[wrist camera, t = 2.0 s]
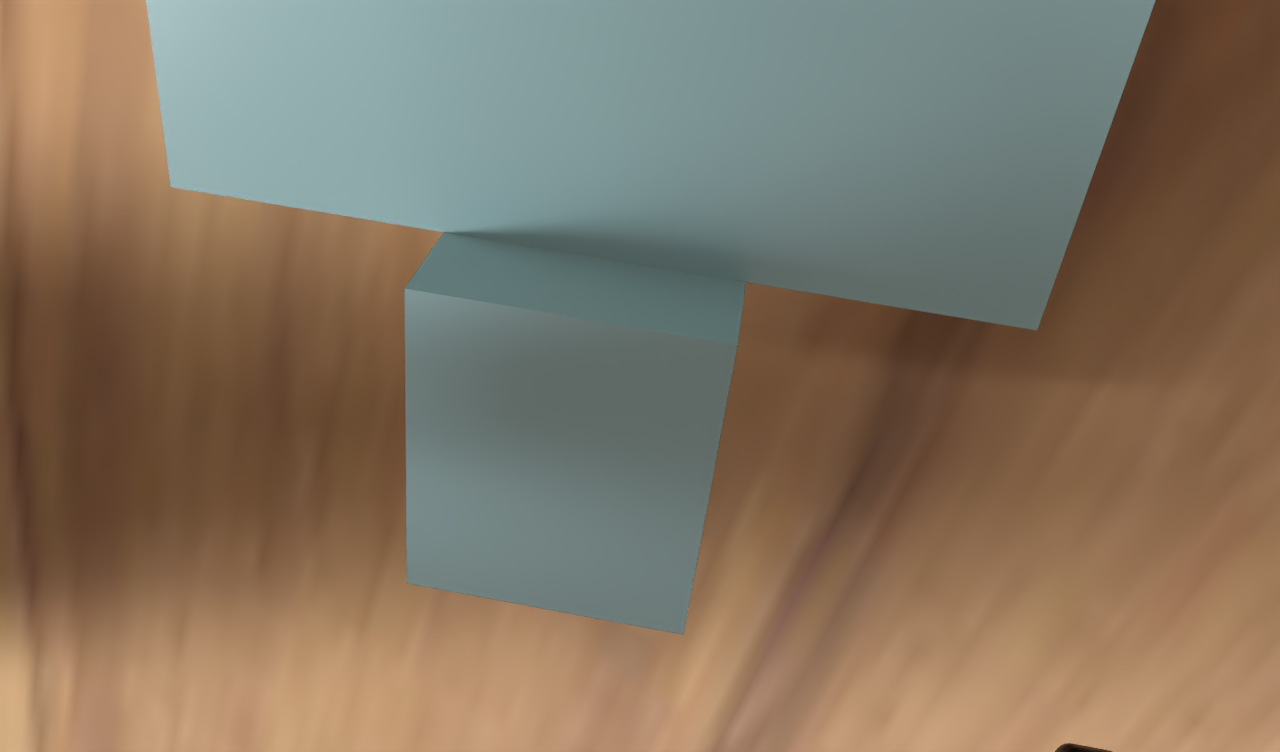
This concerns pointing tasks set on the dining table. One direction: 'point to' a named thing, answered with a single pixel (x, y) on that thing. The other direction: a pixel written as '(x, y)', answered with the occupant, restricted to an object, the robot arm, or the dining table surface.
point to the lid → (639, 222)
